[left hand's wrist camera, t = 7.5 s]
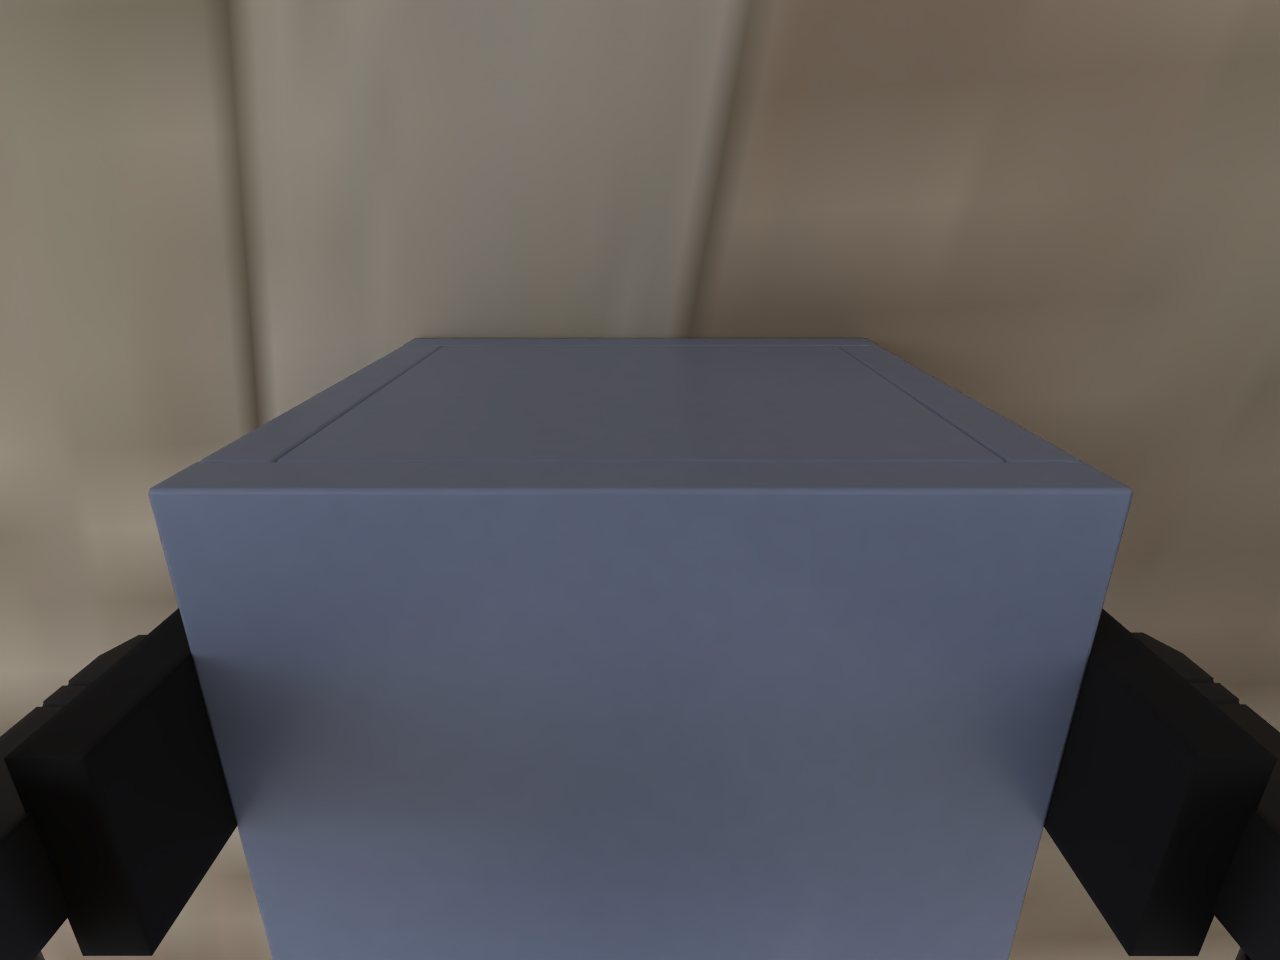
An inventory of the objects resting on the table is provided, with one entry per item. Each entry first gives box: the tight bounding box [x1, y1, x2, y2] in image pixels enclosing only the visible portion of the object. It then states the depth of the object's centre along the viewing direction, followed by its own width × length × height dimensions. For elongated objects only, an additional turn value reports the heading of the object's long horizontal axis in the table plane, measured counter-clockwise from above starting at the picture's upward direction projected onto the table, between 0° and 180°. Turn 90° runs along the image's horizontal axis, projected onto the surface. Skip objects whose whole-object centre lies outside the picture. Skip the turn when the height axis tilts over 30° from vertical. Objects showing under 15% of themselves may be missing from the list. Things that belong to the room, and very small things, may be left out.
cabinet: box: [149, 338, 1133, 960], centre depth 15 cm, size 16×11×10 cm
